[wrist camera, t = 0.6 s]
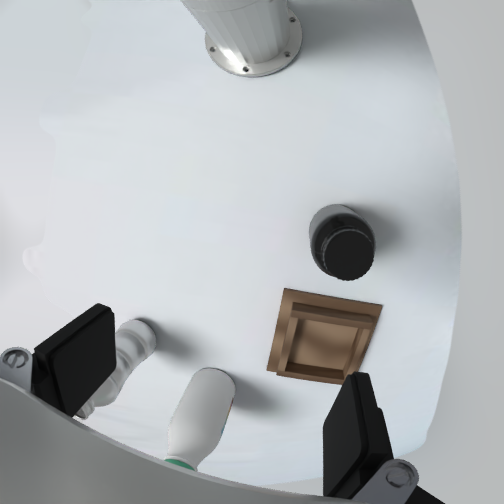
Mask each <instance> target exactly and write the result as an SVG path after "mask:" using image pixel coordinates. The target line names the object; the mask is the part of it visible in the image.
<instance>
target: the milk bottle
mask: <svg viewBox="0 0 504 504" xmlns="http://www.w3.org/2000/svg"><path fill="white" fill-rule="evenodd" d="M235 392H236V388H235V384H234V382H233V380H232V379H231V378H230V377H229V376H228V375H227V374H226V373H224V372H222V371H220V370H217V369H212V368H206V369H202V370H199V371H197V372H196V373H195V374H194V375H193V377H192V378H191V380H190V382H189V384H188V386H187V388H186V390H185V392H184V394H183V396H182V398H181V400H180V402H179V404H178V406H177V408H176V410H175V412H174V414H173V416H172V418H171V420H170V423H169V427H168V446H169V447H168V455H167V456H166V457H164V459H163V460H164V461H167V462H169V463H172V464H175V465H178V466H181V467H184V468H187V469H190V470H194V471H198V470H197V466H198V465H199V463H200V462H201V461H202V460H203V459H204V458H205V457H207V456H208V455H209V454H210V453H211V452H212V451H213V450H214V449H215V448H216V446H217V445H218V443H219V441H220V438H221V436H222V433H223V430H224V427H225V424H226V421H227V418H228V415H229V412H230V409H231V406H232V402H233V399H234V396H235Z"/></svg>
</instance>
